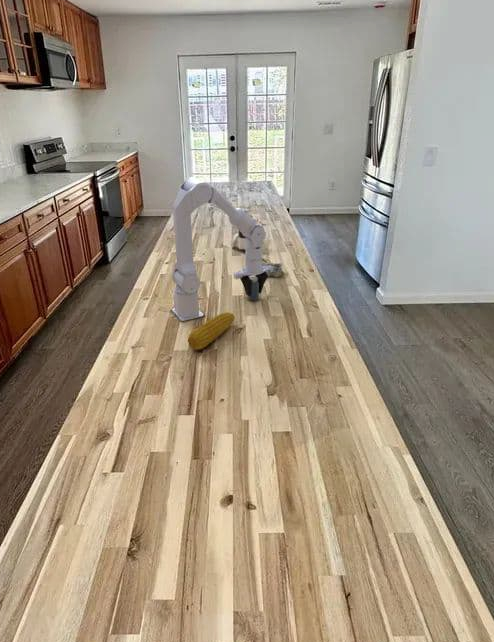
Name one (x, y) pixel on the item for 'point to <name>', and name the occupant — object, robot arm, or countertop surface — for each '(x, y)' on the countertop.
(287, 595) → the countertop surface
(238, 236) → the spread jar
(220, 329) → the food
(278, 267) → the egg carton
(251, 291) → the shaker
